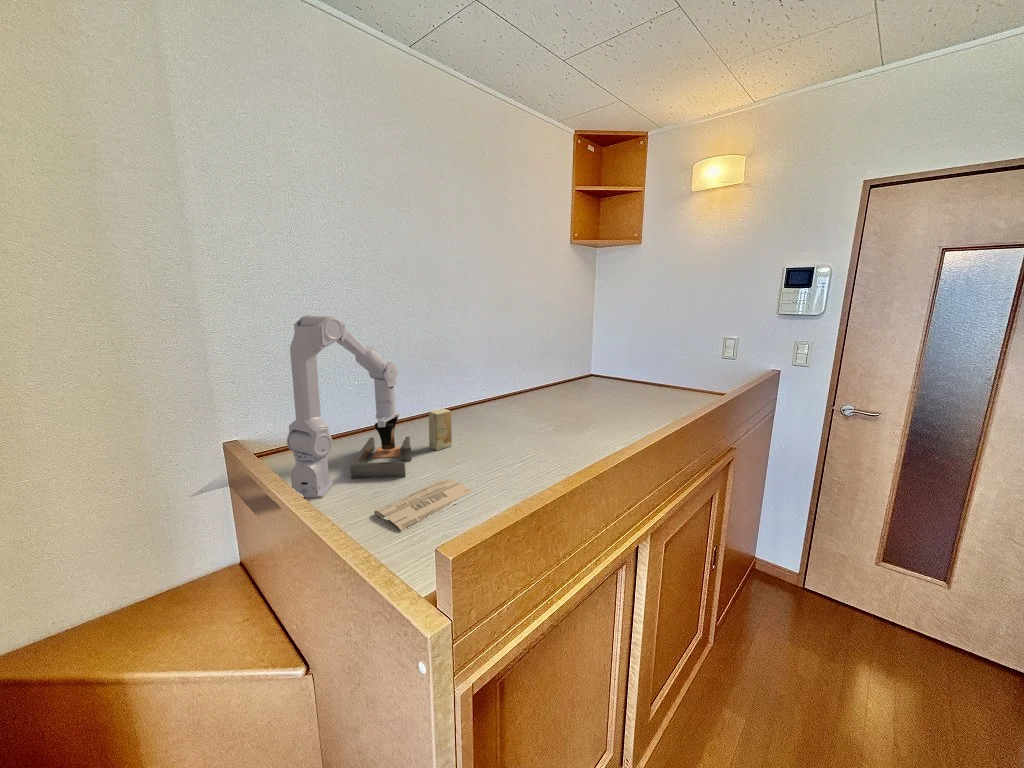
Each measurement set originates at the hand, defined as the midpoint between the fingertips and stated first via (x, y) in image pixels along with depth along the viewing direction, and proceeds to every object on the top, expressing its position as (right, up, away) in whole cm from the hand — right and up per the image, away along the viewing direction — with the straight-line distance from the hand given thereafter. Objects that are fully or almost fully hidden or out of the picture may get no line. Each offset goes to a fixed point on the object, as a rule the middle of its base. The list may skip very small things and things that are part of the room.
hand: (387, 442), depth 127 cm
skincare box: (+16, -3, +6) cm, 17 cm away
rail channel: (+2, -5, -7) cm, 9 cm away
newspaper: (+18, -11, -30) cm, 37 cm away
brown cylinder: (0, -2, 0) cm, 2 cm away
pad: (0, -3, +1) cm, 3 cm away
